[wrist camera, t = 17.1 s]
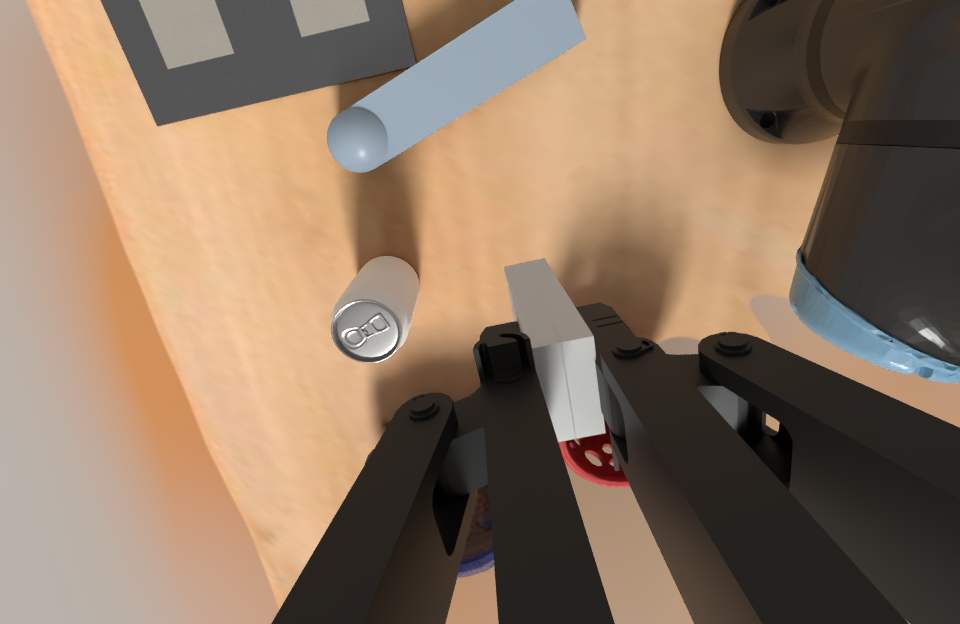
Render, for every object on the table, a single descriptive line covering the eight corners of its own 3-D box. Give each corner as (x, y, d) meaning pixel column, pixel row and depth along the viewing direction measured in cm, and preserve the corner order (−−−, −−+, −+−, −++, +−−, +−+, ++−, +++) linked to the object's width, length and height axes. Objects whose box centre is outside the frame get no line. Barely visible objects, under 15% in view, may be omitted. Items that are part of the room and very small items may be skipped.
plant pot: (655, 312, 49) (711, 366, 38) (645, 413, 54) (691, 485, 43) (537, 320, 49) (558, 376, 38) (537, 420, 54) (556, 495, 43)
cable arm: (578, 44, 38) (586, 38, 35) (357, 180, 41) (350, 183, 39) (552, -19, 36) (559, -30, 34) (324, 129, 40) (314, 128, 37)
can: (345, 274, 46) (308, 320, 35) (396, 242, 45) (375, 279, 34) (382, 323, 49) (358, 381, 37) (432, 293, 47) (422, 344, 36)
